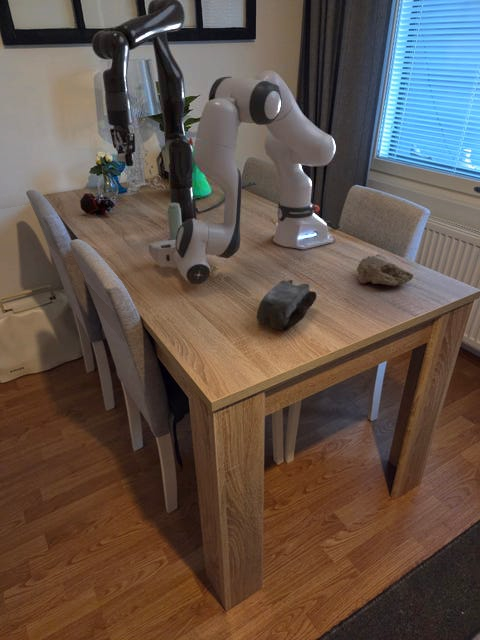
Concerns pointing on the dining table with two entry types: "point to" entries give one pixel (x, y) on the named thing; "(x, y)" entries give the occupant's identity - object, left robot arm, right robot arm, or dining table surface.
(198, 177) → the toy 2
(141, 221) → the dining table surface
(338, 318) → the dining table surface
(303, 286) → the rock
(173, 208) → the bottle
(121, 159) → the lid
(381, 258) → the artifact
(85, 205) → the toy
